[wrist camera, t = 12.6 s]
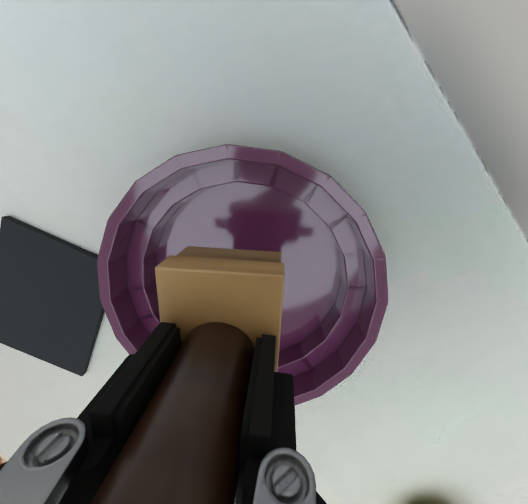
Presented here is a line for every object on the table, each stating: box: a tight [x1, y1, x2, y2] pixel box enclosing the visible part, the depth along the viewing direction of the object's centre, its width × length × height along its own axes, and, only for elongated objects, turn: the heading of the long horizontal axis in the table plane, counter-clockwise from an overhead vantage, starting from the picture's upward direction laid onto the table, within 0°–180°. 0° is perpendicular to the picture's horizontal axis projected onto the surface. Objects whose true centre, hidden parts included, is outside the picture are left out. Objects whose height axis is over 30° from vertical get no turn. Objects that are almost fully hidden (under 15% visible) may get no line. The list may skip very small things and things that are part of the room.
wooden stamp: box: [91, 246, 285, 504], centre depth 9 cm, size 7×5×9 cm, turn 178°
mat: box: [0, 216, 104, 376], centre depth 22 cm, size 12×9×1 cm
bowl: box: [97, 144, 388, 406], centre depth 18 cm, size 17×17×4 cm
